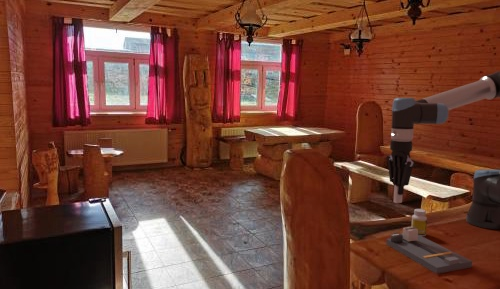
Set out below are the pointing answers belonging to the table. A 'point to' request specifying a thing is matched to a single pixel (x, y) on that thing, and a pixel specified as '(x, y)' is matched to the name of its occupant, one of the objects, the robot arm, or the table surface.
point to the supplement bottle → (420, 221)
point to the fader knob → (410, 234)
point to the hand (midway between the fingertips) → (397, 202)
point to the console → (429, 254)
